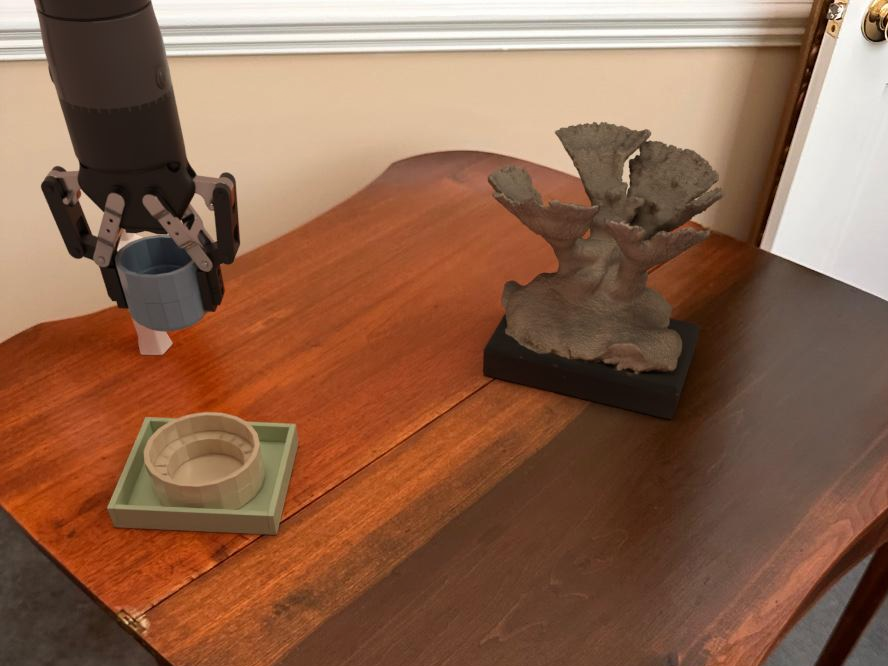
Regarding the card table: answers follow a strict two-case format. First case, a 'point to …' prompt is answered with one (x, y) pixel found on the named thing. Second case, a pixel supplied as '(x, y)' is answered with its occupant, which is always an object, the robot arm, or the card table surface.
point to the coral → (604, 273)
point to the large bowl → (205, 462)
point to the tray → (258, 516)
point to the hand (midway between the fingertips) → (169, 304)
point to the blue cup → (160, 284)
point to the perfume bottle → (147, 338)
